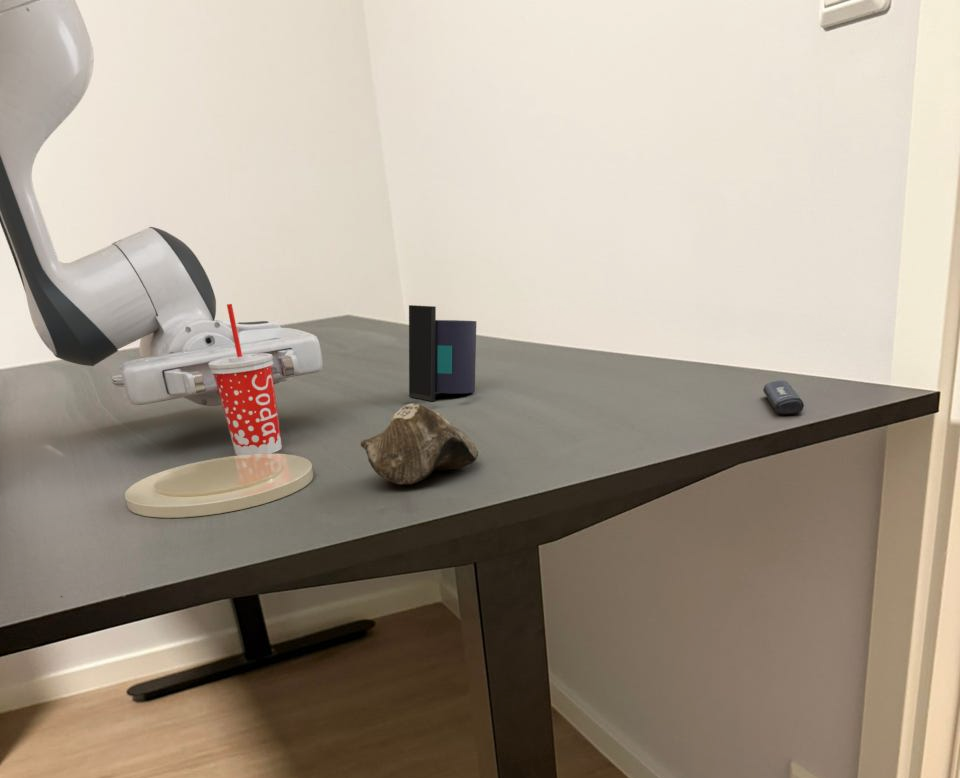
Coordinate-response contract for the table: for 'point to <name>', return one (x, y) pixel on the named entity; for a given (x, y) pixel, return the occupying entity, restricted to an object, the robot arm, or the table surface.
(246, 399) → the beverage cup
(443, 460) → the fossilized seashell
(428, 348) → the speaker
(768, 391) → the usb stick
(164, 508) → the plate
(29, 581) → the table surface
